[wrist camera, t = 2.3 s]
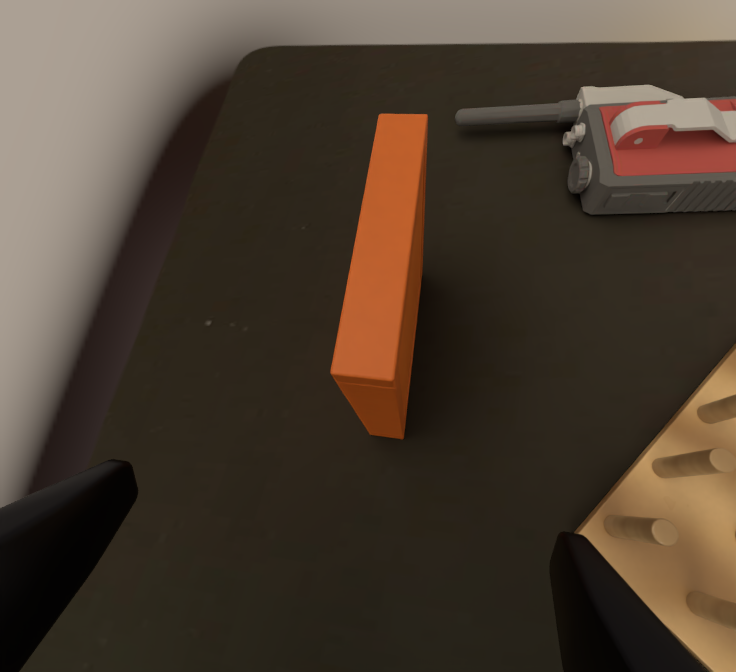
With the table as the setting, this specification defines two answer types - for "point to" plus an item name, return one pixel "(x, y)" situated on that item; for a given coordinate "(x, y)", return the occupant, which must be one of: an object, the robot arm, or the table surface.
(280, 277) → the table surface
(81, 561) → the robot arm
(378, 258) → the lid
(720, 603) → the rack
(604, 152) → the walkie-talkie
